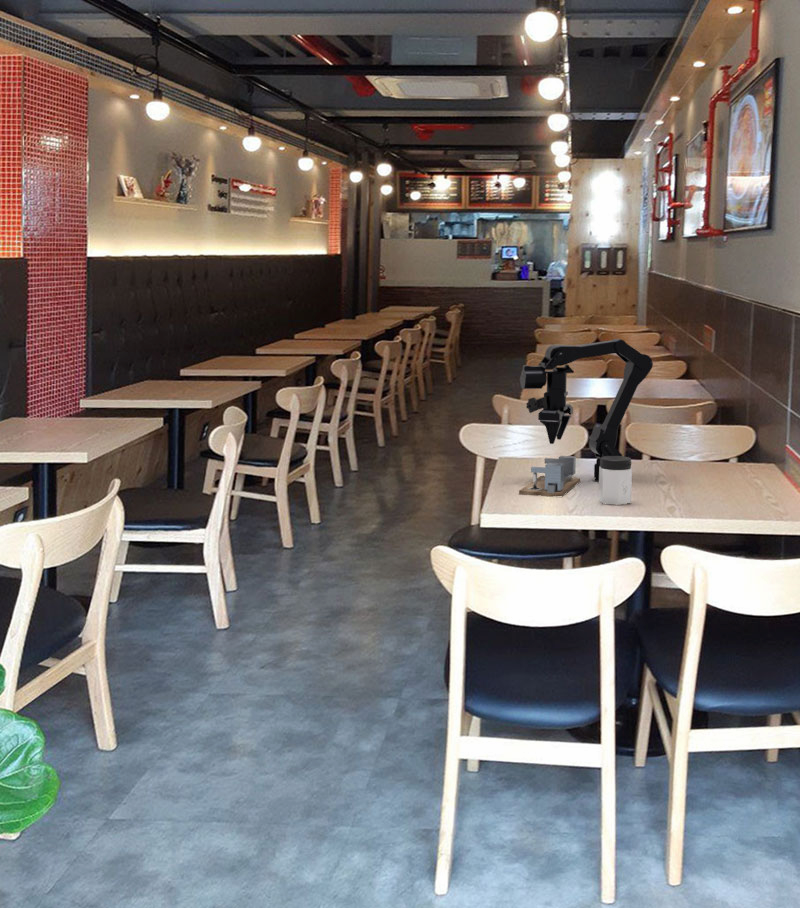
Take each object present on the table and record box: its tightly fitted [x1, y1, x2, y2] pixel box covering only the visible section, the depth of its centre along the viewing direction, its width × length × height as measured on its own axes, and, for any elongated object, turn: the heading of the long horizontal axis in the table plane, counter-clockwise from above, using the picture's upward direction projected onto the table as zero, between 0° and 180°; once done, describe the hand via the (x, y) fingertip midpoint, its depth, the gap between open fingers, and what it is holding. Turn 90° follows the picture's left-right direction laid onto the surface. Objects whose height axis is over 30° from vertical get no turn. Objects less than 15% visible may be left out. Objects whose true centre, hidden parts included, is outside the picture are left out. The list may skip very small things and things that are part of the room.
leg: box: [530, 463, 564, 491], centre depth 325 cm, size 9×4×7 cm, turn 69°
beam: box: [544, 455, 577, 493], centre depth 331 cm, size 9×22×7 cm, turn 159°
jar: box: [597, 455, 633, 506], centre depth 312 cm, size 9×8×12 cm
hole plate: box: [518, 475, 581, 497], centre depth 333 cm, size 12×25×1 cm, turn 159°
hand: (555, 441), depth 341 cm, fingers open, 9 cm apart
